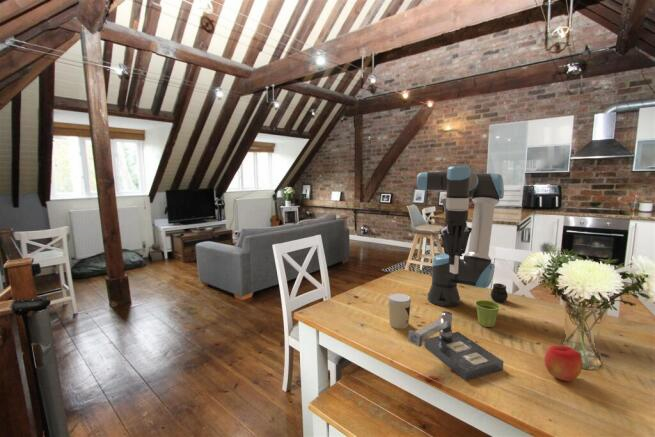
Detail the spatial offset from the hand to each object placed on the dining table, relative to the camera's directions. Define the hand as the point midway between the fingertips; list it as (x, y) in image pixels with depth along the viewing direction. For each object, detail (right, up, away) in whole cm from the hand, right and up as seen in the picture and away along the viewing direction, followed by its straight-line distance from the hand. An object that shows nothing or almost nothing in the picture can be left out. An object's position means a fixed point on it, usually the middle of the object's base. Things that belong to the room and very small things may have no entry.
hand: (453, 272), depth 114 cm
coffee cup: (-17, -25, +16) cm, 34 cm away
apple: (+25, -29, -19) cm, 43 cm away
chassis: (-1, -28, -8) cm, 29 cm away
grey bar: (-10, -21, -7) cm, 25 cm away
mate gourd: (+38, -21, +38) cm, 58 cm away
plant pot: (+20, -24, +15) cm, 35 cm away
